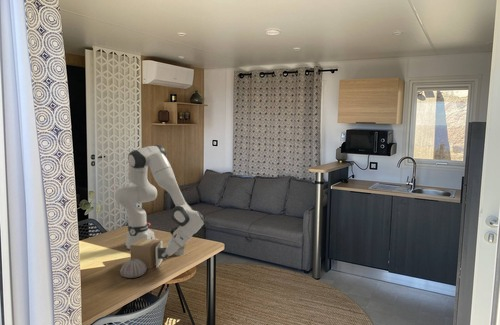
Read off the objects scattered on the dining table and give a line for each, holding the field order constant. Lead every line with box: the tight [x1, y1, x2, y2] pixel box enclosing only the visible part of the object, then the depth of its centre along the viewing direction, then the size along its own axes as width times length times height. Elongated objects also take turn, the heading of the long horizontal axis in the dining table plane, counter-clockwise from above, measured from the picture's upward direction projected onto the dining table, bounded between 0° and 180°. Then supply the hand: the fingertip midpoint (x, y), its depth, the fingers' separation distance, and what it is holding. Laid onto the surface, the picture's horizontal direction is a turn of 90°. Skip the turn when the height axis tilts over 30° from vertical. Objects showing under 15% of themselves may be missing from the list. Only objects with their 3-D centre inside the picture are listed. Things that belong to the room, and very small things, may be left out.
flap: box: [155, 240, 170, 269], centre depth 209 cm, size 12×6×11 cm, turn 179°
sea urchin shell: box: [119, 258, 148, 279], centre depth 196 cm, size 13×14×8 cm
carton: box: [129, 238, 162, 269], centre depth 211 cm, size 12×12×12 cm
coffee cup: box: [170, 226, 187, 256], centre depth 226 cm, size 10×10×15 cm
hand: (163, 254), depth 206 cm, fingers open, 3 cm apart
